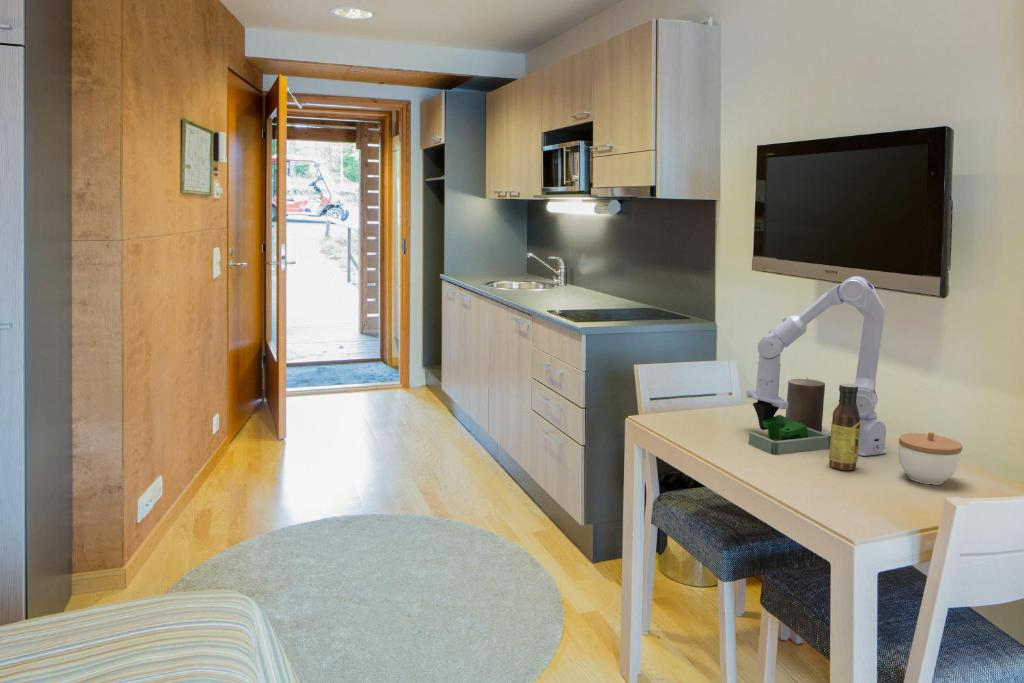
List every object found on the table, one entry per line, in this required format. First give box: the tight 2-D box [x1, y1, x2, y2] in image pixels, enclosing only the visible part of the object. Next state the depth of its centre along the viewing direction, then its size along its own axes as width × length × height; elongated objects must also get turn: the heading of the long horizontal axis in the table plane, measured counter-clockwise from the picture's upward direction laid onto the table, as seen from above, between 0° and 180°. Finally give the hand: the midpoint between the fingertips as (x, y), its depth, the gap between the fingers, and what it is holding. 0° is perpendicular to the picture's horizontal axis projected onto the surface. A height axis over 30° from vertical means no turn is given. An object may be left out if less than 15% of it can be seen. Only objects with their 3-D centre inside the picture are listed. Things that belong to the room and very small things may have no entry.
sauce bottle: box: [828, 383, 861, 471], centre depth 184 cm, size 7×6×20 cm
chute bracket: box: [748, 427, 831, 456], centre depth 201 cm, size 10×18×3 cm, turn 112°
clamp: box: [763, 414, 808, 441], centre depth 204 cm, size 12×6×9 cm, turn 11°
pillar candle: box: [785, 377, 826, 432], centre depth 216 cm, size 10×10×15 cm
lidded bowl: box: [898, 431, 963, 486], centre depth 177 cm, size 13×13×11 cm
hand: (764, 429), depth 211 cm, fingers closed
